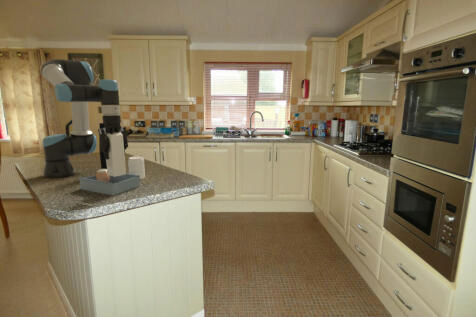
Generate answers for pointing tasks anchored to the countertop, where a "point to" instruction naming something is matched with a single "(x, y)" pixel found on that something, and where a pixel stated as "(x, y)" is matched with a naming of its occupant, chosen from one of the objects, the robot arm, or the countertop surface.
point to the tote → (110, 184)
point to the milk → (116, 155)
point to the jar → (102, 175)
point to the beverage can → (136, 166)
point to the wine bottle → (102, 153)
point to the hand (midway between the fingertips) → (116, 164)
